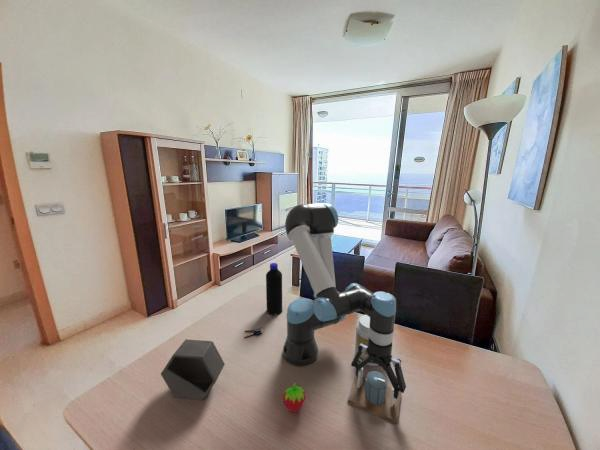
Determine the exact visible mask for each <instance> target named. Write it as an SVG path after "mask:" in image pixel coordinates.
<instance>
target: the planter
mask: <svg viewBox="0 0 600 450" xmlns="http://www.w3.org/2000/svg"><path fill="white" fill-rule="evenodd" d="M224 367H225V362H224V360H223V358H222V356H221V355H220V352H219V351H218V350H217V347H216V345H215V344H214V341H211V340H199V339H197V340H196V339H184V340H183V342H181V345H180V346H179V347H178V348H177V349H176V351H175V352H174V353H173V355H171V358H170V359H169V361H168V362H167V363H166V365H165V367H164V368H163V370H162V371H161V372H160V376H161V377H162V379H163V380H164V382H165V384H166V386H167V387H168V389H169V391H170V392H171V394H172V395H173V397H174V398H175V397H178V398H177V399H186V400H198V401H203V400H204V398H206V397H207V395H208V393H209V392H210V390H211V389H212V388H213V387H214V385H215V384H216V383H217V381H218V379H219V376H220V375H221V372H222V370H223V368H224Z"/></svg>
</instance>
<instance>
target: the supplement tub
mask: <svg viewBox="0 0 600 450" xmlns="http://www.w3.org/2000/svg"><path fill="white" fill-rule="evenodd" d="M369 326H370V317H369V316H368V315H366V314H364V315H361V316H360V317H358V323H357V324H356V327H355V344H354V345H355V347H354V355H355V356H356V354H357V352H358V347H359V345H360V344H361V343H362V342H363V343H364V345H365V346H368V338H369ZM367 356H369V355H368V353H367V351H366V350H365V351H364V352H362V354H361V356H360V358H359V359H358V361H359V362H361V361H362V360H364V359H365V358H366V357H367ZM365 366H370V367H376V366H379V365H378V364H375V363H373V361H371V362H369V363H367V364H366V365H365Z"/></svg>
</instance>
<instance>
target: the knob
mask: <svg viewBox="0 0 600 450" xmlns="http://www.w3.org/2000/svg"><path fill="white" fill-rule="evenodd" d="M365 378H366V386H365V396H366V397H367V399H368V401H370V402H371V403H374V404H376V405H379V404H382V403H384V402H385V396H386V387H387V386H388V381H387V377H385V375H384V374H383V373H382V372H380V371H375V370H371V371H368V372H367V374H366V377H365Z"/></svg>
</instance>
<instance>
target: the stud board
mask: <svg viewBox="0 0 600 450" xmlns="http://www.w3.org/2000/svg"><path fill="white" fill-rule="evenodd" d="M366 378H367V377H365V376H363V380H362V384H361V386H360V388H358V387H357V383H358V377H356V376H355V379H354V381H353V384H352V387H351V390H350V392H349V395H348V397H347V403H349V404H351V405H353V406H355V407H357V408H359V409H363V410H365V411H367V412H369V413H371V414H373V415H374V416H375V415H376V416H377V417H380V418H382V419H385V420H387V421H389V422H391V423H394V424H396V425H398V421H399V413H400V404H401V398H402V397H401V396H402V392H401V391H399V395H398V398H397V399H396V398H395V401H394V404H393V406H392V407H391V406H390V399H391V390H392V387H391V386H388V385H387V387H386V396H385V402H384V403H382V404H379V405H376V404H374V403H371V402H370V401H368V399H367V397H366V396H365V386H366Z"/></svg>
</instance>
